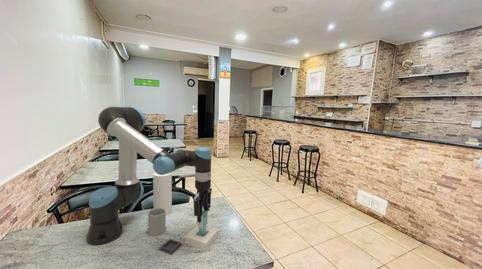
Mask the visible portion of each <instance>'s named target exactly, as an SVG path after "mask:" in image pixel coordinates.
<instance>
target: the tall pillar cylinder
mask: <svg viewBox="0 0 482 269" xmlns="http://www.w3.org/2000/svg"><path fill="white" fill-rule="evenodd" d="M172 176H173V174H172V172H171V173H168V174H165V175H159V174H157V173H156V172H155V171H154V172H153V174H152V188H153V189H152V190H153V192H152V194H153V198H152V199H153V204H152V205H153V209H156V208H162V209H165V211H166V216H167V215H169V214H171V213H172V211H173V210H172V208H173V207H172V206H173V205H172V204H173V200H172V198H173V195H172V192H173V190H172V189H173V187H172V186H173V185H172V184H173V182H172V181H173V179H172V178H173V177H172Z"/></svg>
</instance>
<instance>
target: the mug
mask: <svg viewBox="0 0 482 269" xmlns="http://www.w3.org/2000/svg"><path fill="white" fill-rule="evenodd" d="M166 217H167V215H166V211H165V209H162V208H156V209H154V208H153V209H151V210H149V211H148V214H147V223H148V225H147V226H148V228H147V230H148V232H147V233H148V234H149V235H150V236H159V235H162V234H164V233H165V232H166V230H167V227H166V226H167V222H166V221H167V220H166Z"/></svg>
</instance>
